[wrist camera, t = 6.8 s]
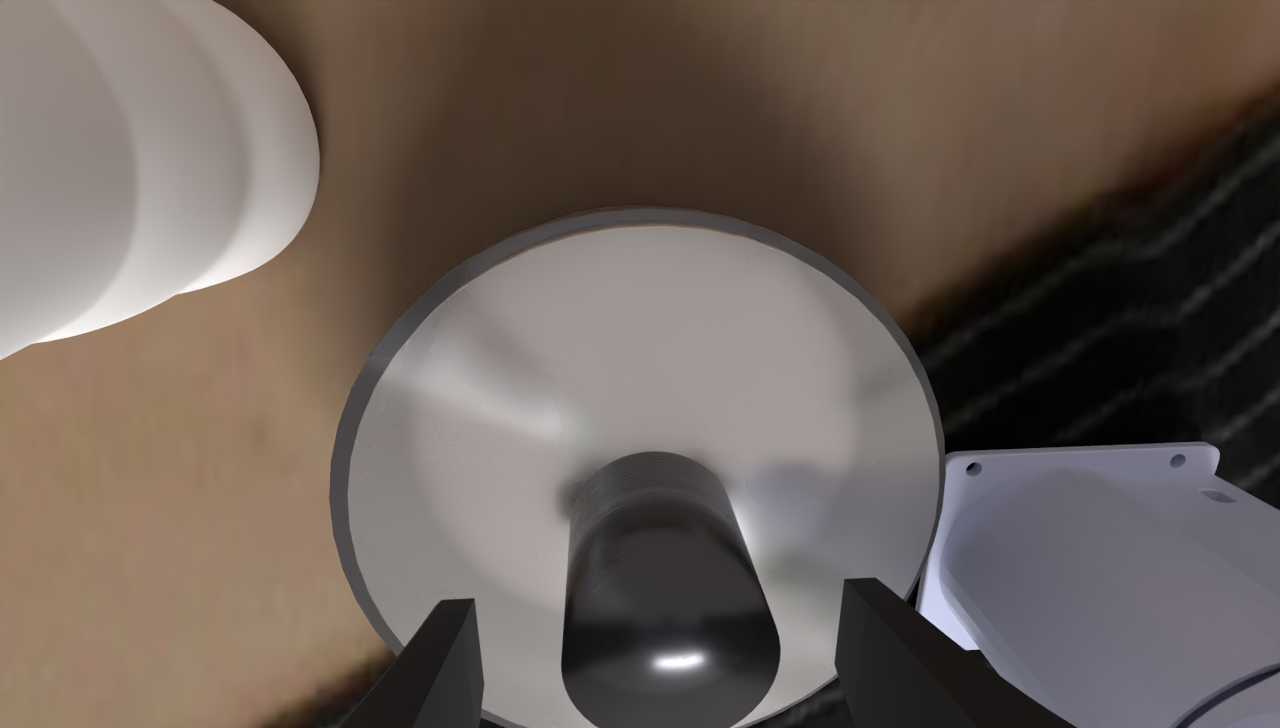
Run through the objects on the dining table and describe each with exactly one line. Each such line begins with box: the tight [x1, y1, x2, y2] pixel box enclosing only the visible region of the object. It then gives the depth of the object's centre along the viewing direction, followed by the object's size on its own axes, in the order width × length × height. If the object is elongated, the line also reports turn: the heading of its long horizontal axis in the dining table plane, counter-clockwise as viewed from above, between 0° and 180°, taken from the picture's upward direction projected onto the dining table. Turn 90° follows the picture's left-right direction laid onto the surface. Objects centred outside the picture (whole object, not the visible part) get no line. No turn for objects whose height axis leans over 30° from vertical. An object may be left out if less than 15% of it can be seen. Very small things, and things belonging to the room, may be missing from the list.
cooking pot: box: [329, 205, 946, 728], centre depth 18 cm, size 15×15×5 cm
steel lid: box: [348, 219, 939, 728], centre depth 13 cm, size 13×13×5 cm
